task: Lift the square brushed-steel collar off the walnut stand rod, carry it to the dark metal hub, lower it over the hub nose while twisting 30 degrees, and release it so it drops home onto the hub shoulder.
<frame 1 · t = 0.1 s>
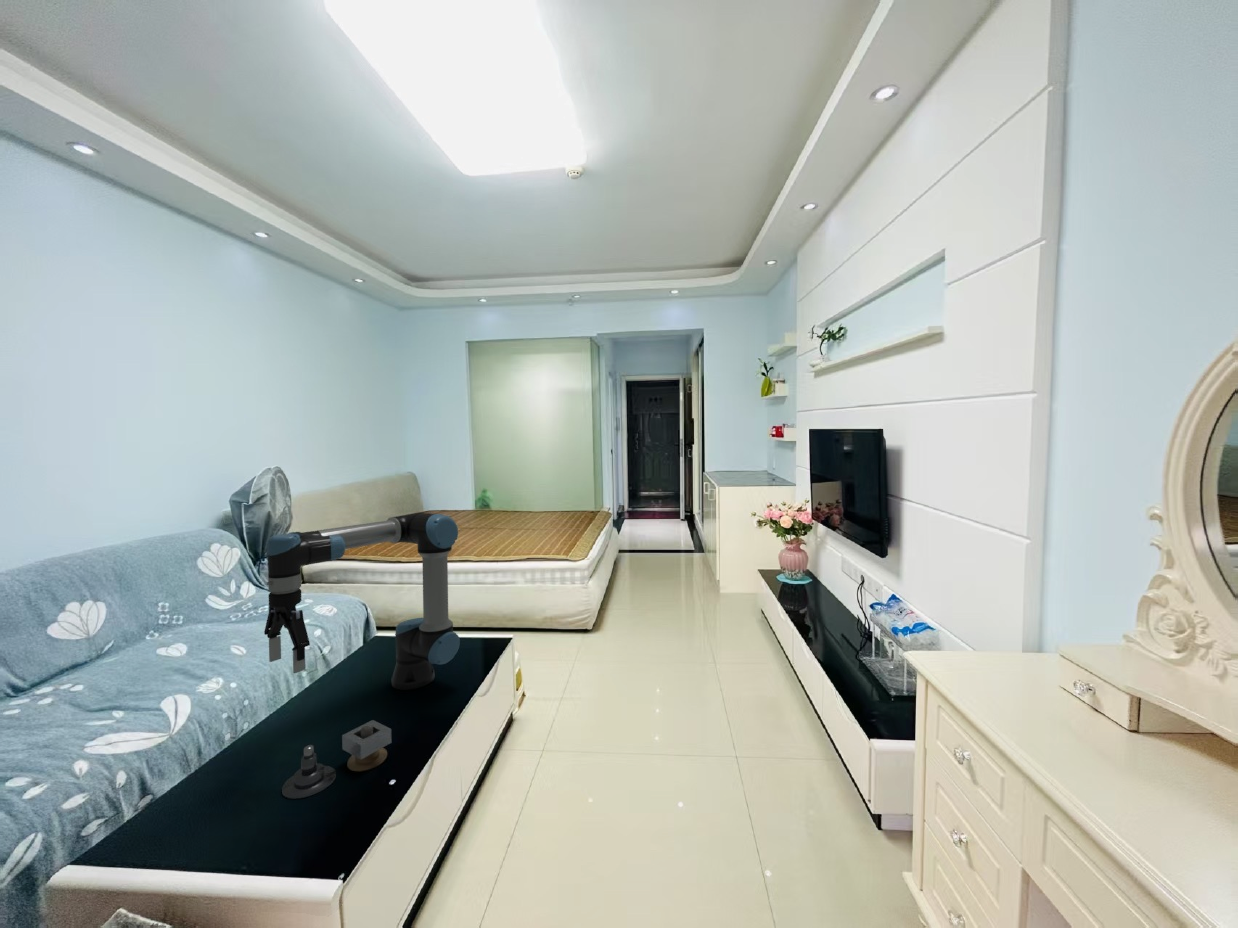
hand: (287, 665, 136), 28 cm above the table, fingers open, 13 cm apart
hub: (309, 782, 128), on the table
collar: (367, 745, 138), point 4 cm above the table, touching stand
stand: (367, 759, 138), on the table
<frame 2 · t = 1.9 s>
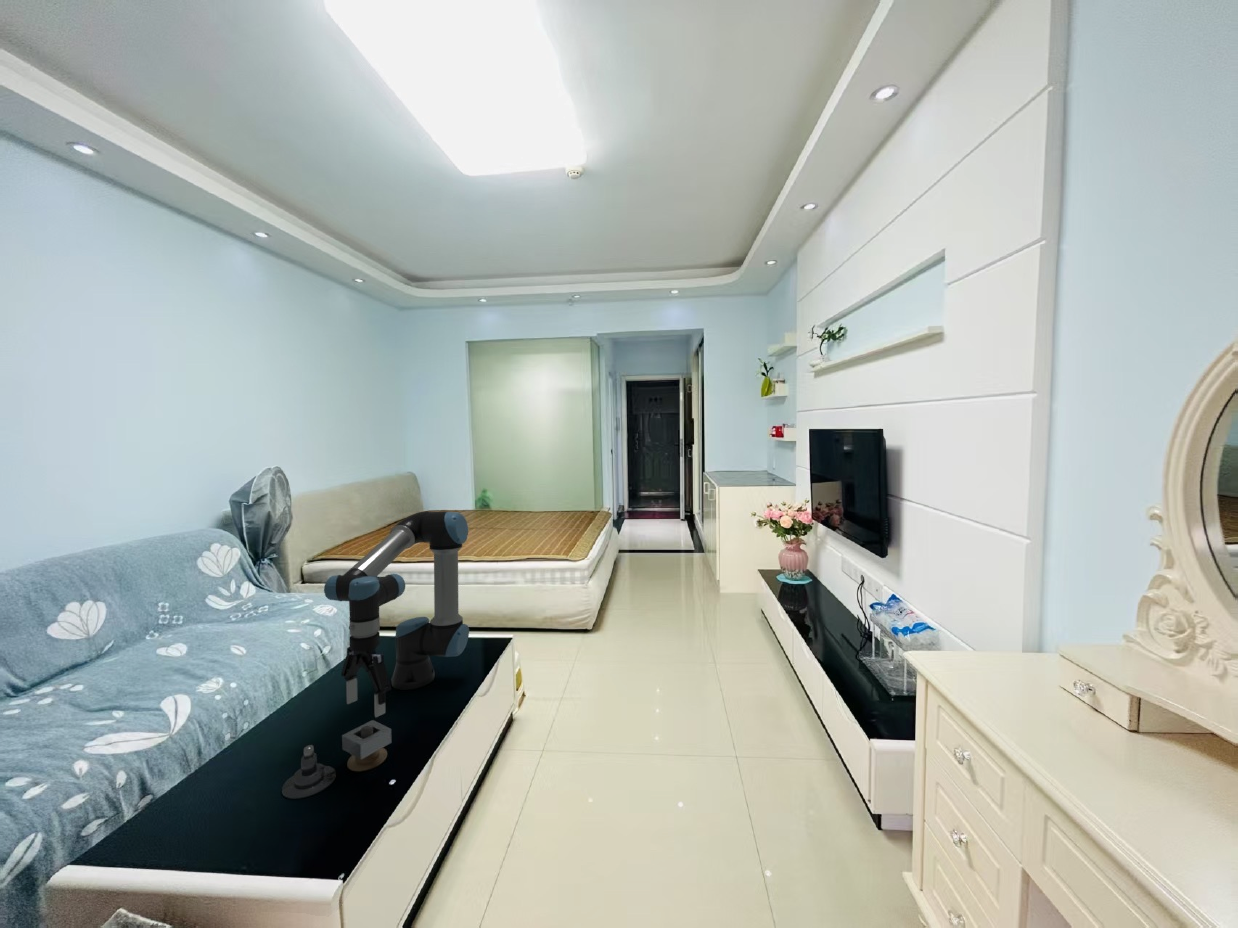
hand: (365, 708, 137), 15 cm above the table, fingers open, 13 cm apart
nothing on the table moved.
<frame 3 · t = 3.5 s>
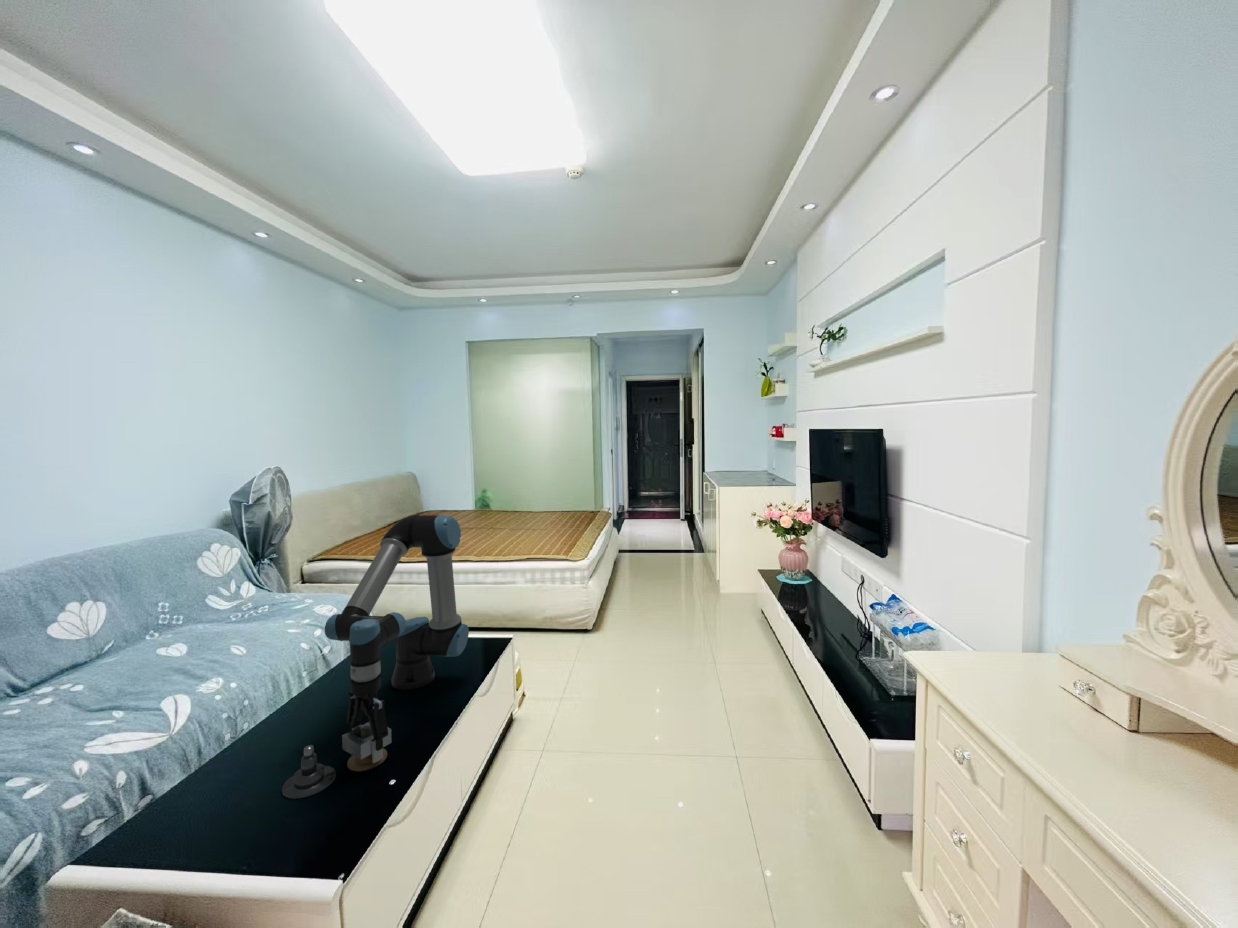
hand: (367, 754, 138), 1 cm above the table, fingers closed on collar, 9 cm apart
collar: (367, 745, 138), point 4 cm above the table, touching gripper, stand
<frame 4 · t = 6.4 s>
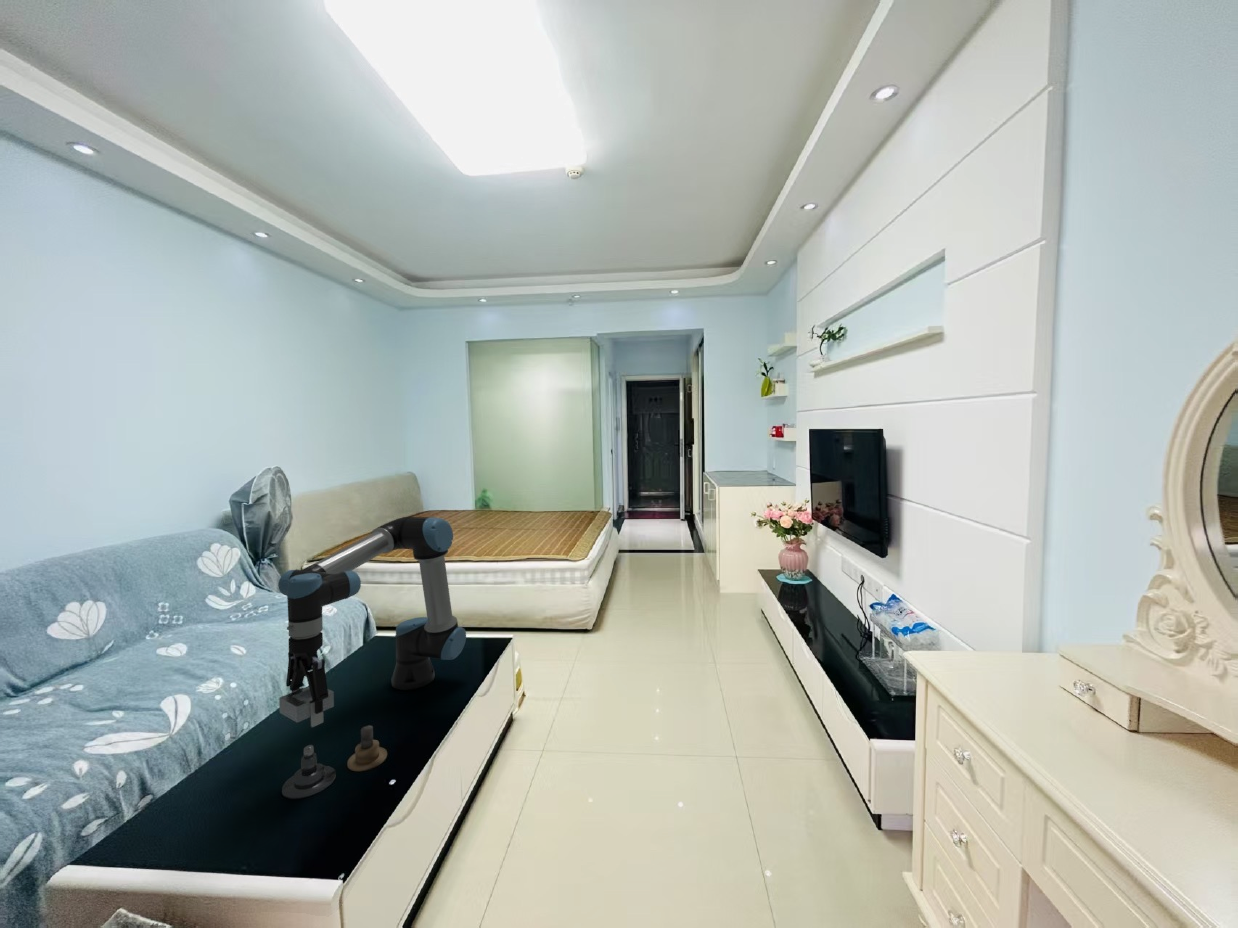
hand: (307, 718, 128), 17 cm above the table, fingers closed on collar, 9 cm apart
collar: (307, 709, 128), point 20 cm above the table, touching gripper
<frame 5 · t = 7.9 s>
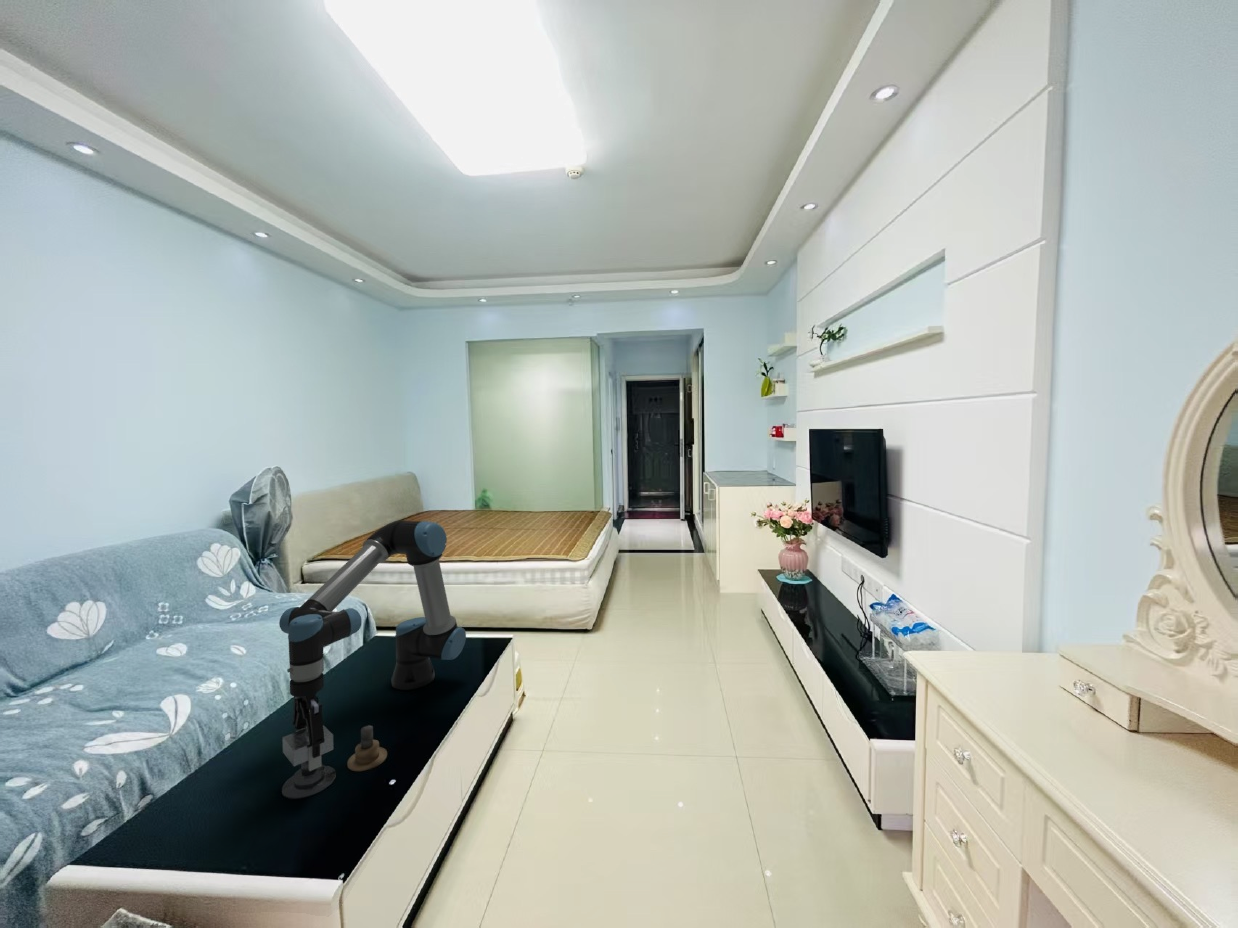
hand: (308, 760, 128), 6 cm above the table, fingers closed on collar, 9 cm apart
collar: (308, 750, 128), point 9 cm above the table, touching gripper
when the fingers open (2 cm above the table, at t = 9.3 s): collar drops 1 cm, resting on hub.
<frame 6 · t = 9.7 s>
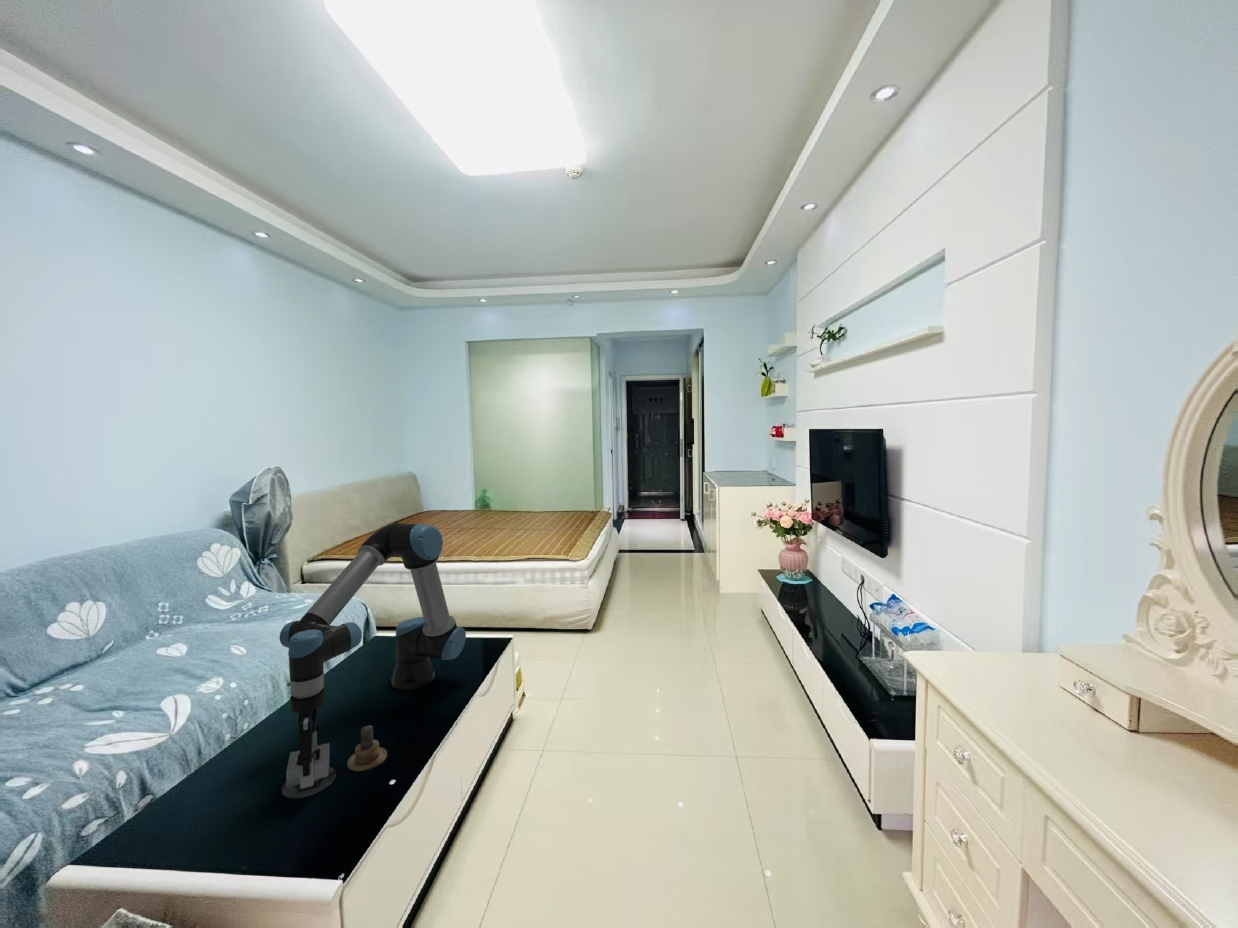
hand: (309, 770, 128), 3 cm above the table, fingers open, 13 cm apart
collar: (309, 771, 128), point 3 cm above the table, touching hub
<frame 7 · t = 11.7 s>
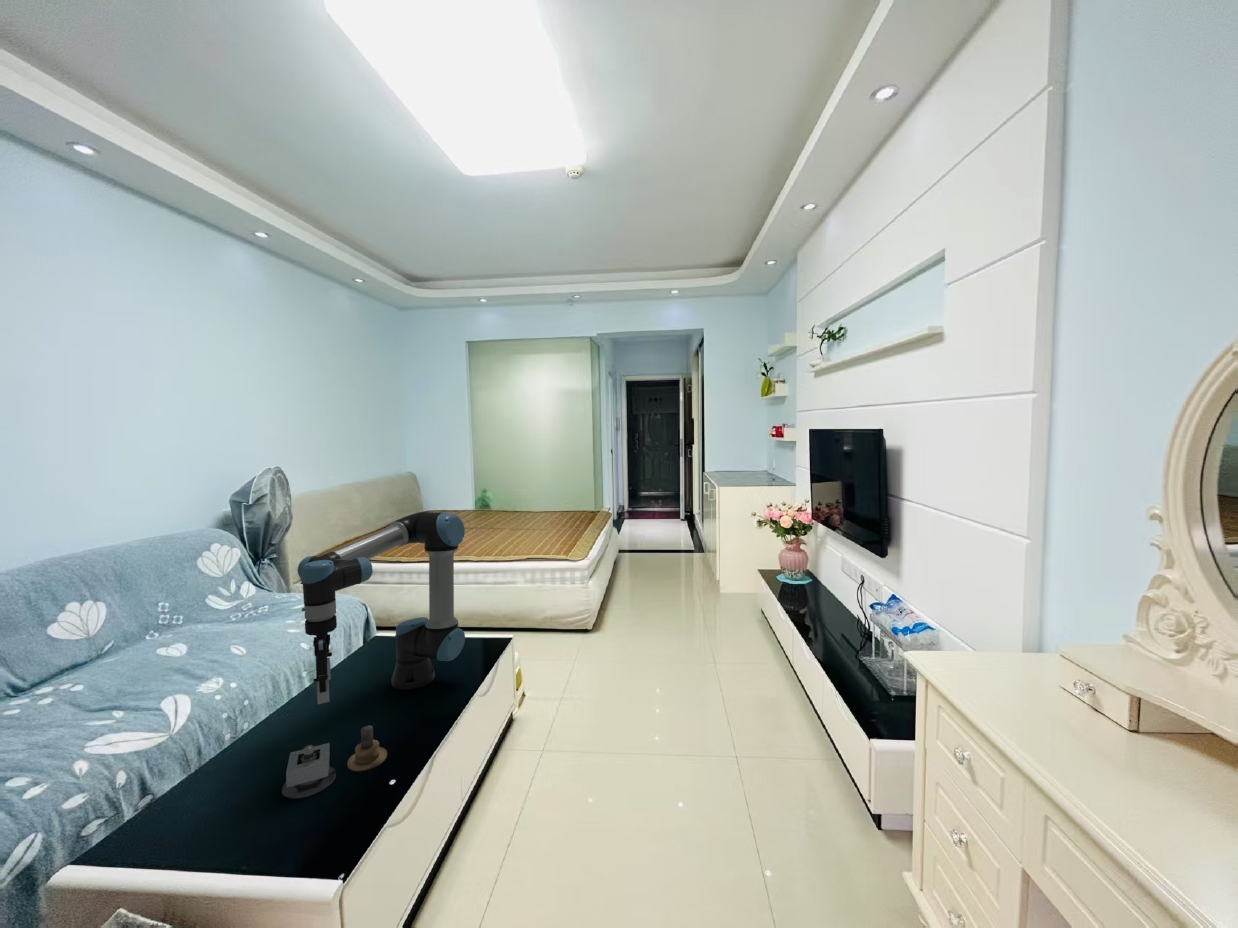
hand: (324, 691, 136), 20 cm above the table, fingers open, 13 cm apart
nothing on the table moved.
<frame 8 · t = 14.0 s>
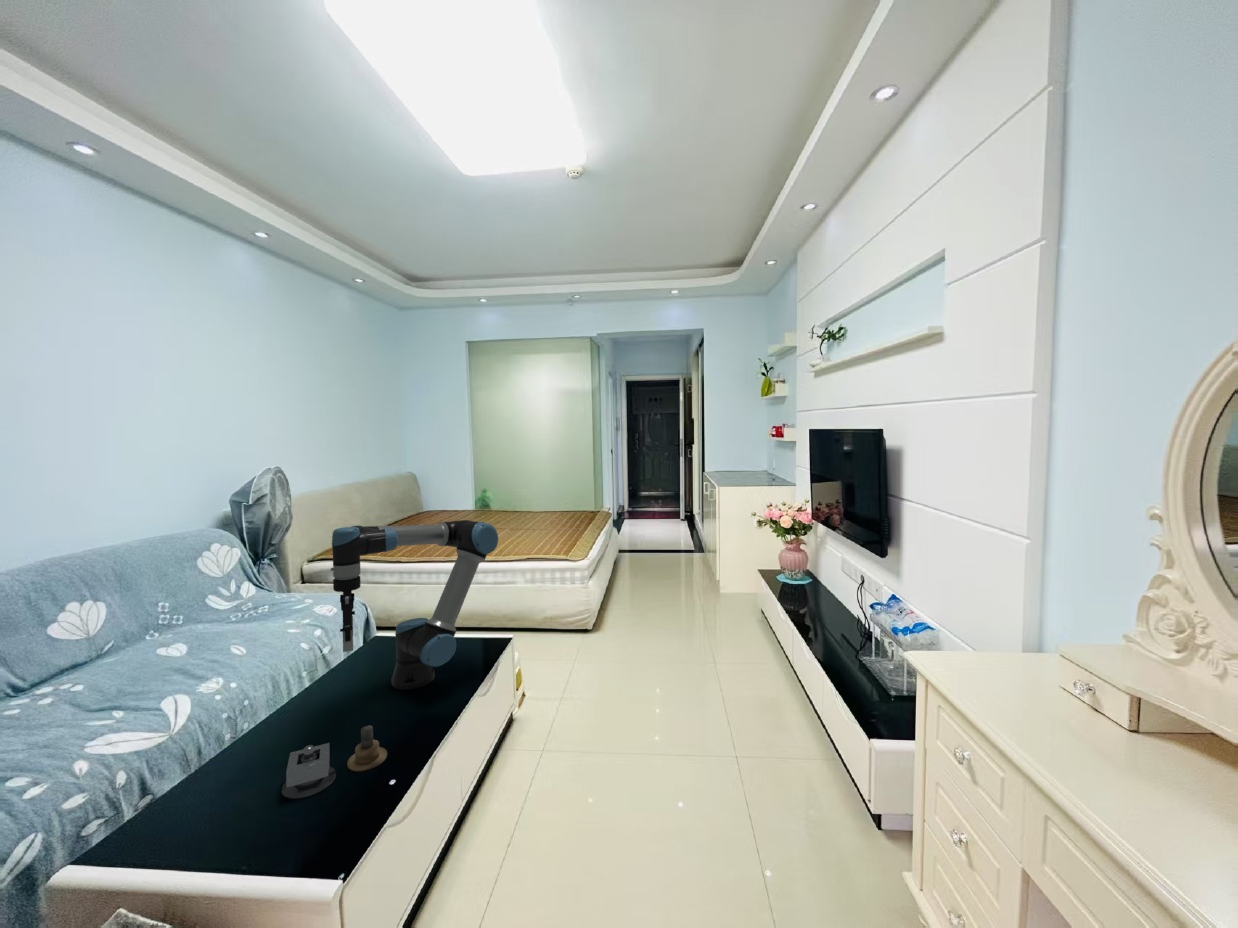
hand: (348, 643, 154), 27 cm above the table, fingers open, 13 cm apart
nothing on the table moved.
at the end: collar 0.0 cm off-centre on the hub, point 3.0 cm above the hub's base; the gripper is holding nothing; collar tilted 0° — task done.
